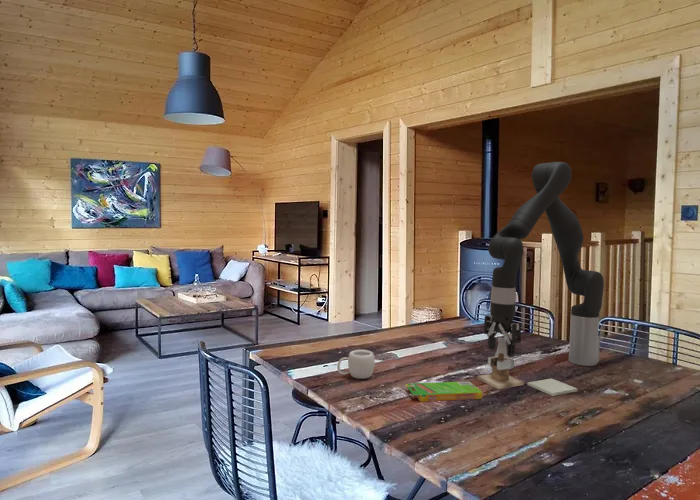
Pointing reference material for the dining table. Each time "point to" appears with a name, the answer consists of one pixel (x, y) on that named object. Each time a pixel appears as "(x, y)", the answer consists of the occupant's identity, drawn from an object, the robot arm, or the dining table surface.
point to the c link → (501, 362)
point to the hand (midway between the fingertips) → (500, 352)
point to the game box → (444, 391)
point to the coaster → (552, 387)
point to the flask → (502, 347)
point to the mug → (359, 364)
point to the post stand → (500, 377)
